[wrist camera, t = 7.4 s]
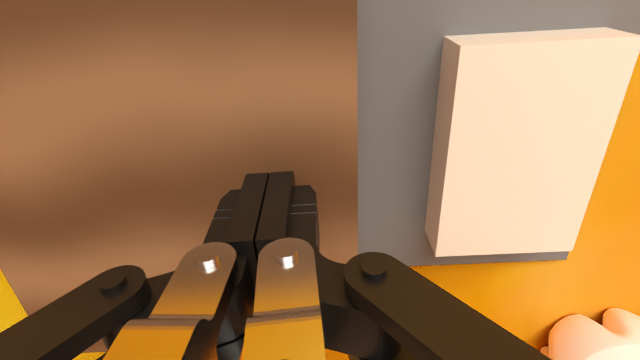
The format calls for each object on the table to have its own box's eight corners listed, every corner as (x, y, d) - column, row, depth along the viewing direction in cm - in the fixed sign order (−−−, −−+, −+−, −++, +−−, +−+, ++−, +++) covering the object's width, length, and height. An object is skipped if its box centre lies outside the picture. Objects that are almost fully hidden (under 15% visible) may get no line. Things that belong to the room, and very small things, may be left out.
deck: (-60, -52, 13) (-192, -57, 10) (346, -76, 13) (357, -89, 10) (94, 289, 21) (50, 353, 18) (351, 278, 21) (358, 342, 17)
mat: (346, -76, 13) (346, -77, 13) (677, -95, 13) (684, -97, 13) (351, 264, 20) (351, 268, 20) (562, 255, 20) (566, 259, 20)
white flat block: (644, 36, 13) (605, 27, 15) (460, 46, 13) (443, 35, 15) (572, 250, 17) (548, 224, 19) (435, 256, 17) (424, 229, 19)
